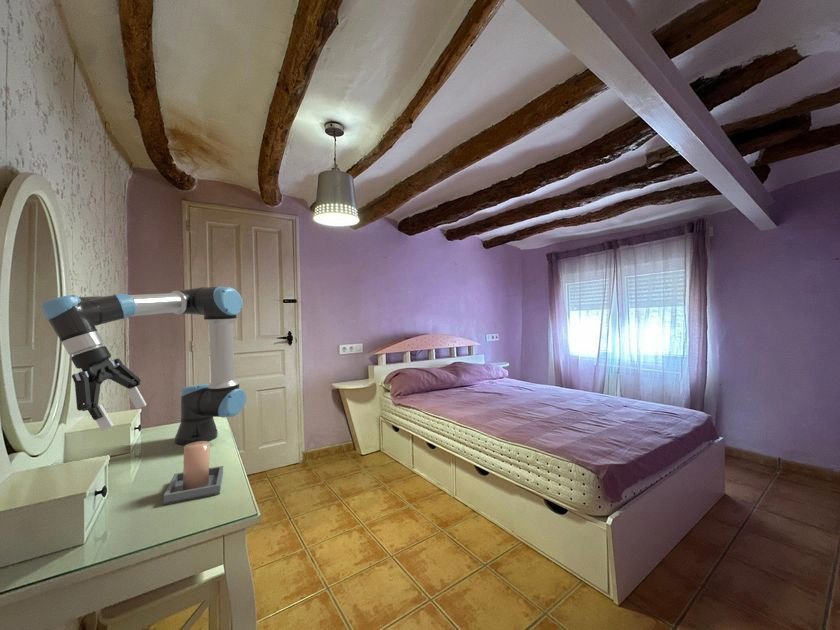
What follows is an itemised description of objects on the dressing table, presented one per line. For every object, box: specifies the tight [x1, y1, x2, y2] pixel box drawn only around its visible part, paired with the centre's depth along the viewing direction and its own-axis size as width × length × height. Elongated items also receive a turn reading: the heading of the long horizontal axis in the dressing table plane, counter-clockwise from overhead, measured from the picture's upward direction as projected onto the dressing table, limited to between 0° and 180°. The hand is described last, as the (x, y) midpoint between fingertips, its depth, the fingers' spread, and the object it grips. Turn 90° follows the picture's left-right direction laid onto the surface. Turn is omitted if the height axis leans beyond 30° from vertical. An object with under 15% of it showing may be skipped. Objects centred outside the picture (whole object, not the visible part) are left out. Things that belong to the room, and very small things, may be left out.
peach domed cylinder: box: [182, 441, 211, 490], centre depth 99 cm, size 6×6×12 cm
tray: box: [162, 465, 224, 506], centre depth 99 cm, size 15×13×2 cm
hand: (125, 416), depth 96 cm, fingers open, 13 cm apart
